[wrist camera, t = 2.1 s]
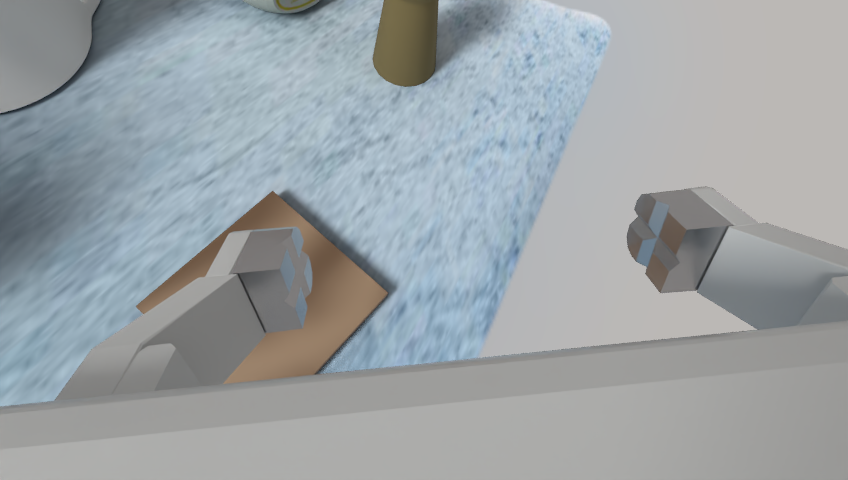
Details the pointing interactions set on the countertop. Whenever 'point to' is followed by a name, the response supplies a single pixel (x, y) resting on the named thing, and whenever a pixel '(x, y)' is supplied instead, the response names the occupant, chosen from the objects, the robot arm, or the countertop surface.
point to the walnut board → (326, 304)
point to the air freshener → (282, 5)
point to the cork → (406, 41)
